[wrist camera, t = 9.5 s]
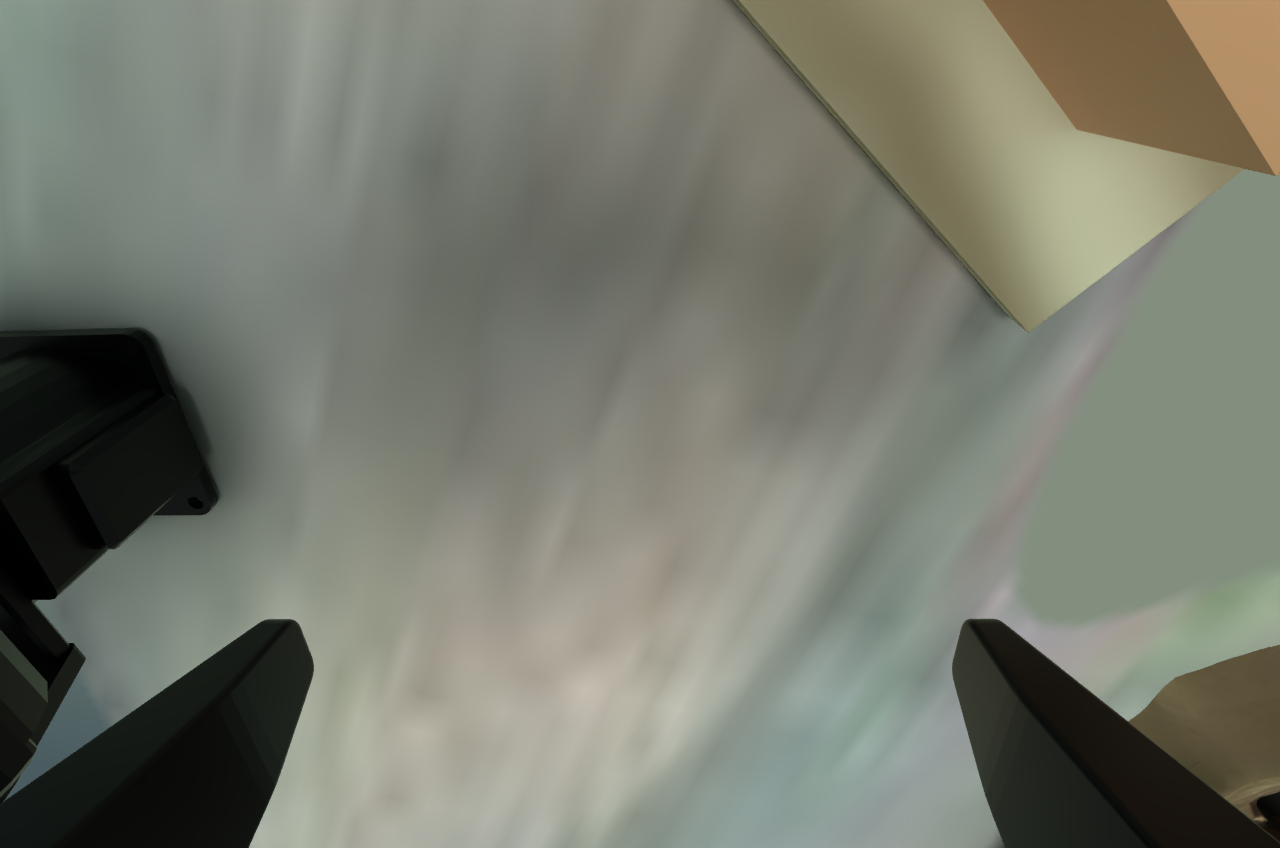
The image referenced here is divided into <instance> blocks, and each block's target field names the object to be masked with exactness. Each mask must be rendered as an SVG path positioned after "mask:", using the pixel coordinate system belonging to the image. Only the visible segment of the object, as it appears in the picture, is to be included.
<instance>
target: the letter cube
mask: <svg viewBox="0 0 1280 848" xmlns="http://www.w3.org/2000/svg"><path fill="white" fill-rule="evenodd" d="M983 1H984V3H985V4H986V5H987V7H988V8H989V10H990V11H991V12H992V14H993V15H994V16H995V18H996V19H997V21H998V22H999V23H1000V25H1001V26H1002V27H1003V29H1004V30H1005V32H1006V33H1007V34H1008V36H1009V37H1010V38H1011V40H1012V41H1013V43H1014V44H1015V45H1016V47H1017V48H1018V50H1019V51H1020V52H1021V54H1022V55H1023V56H1024V58H1025V59H1026V61H1027V62H1028V63H1029V65H1030V66H1031V67H1032V69H1033V70H1034V72H1035V73H1036V74H1037V76H1038V77H1039V78H1040V80H1041V81H1042V83H1043V84H1044V85H1045V87H1046V88H1047V90H1048V91H1049V92H1050V94H1051V95H1052V96H1053V98H1054V99H1055V101H1056V102H1057V103H1058V105H1059V106H1060V107H1061V109H1062V110H1063V112H1064V113H1065V114H1066V116H1067V117H1068V119H1069V120H1070V121H1071V123H1072V124H1073V125H1074V127H1075V128H1076V130H1080V131H1084V132H1088V133H1093V134H1097V135H1101V136H1106V137H1110V138H1114V139H1119V140H1123V141H1127V142H1132V143H1136V144H1140V145H1145V146H1149V147H1153V148H1157V149H1162V150H1166V151H1170V152H1175V153H1179V154H1183V155H1188V156H1192V157H1196V158H1201V159H1205V160H1209V161H1213V162H1218V163H1222V164H1226V165H1231V166H1235V167H1239V168H1244V169H1248V170H1252V171H1257V172H1261V173H1265V174H1270V175H1274V176H1277V175H1278V174H1279V173H1280V0H983Z"/></svg>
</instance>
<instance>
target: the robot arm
mask: <svg viewBox="0 0 1280 848" xmlns="http://www.w3.org/2000/svg"><path fill="white" fill-rule="evenodd" d="M130 343H131V344H133V345H134V346H135V347H136V348H137V350H138V352H137V351H135V350H134V349H132V347H131V346H130ZM196 497H197V498H199V499H200V500H201V501H200V500H198V499H197V498H196ZM217 501H218V499H217V495H216V492H215V490H214V488H213V485H212V483H211V480H210V478H209V475H208V473H207V471H206V468H205V466H204V463H203V461H202V459H201V456H200V454H199V451H198V449H197V447H196V444H195V442H194V439H193V437H192V434H191V432H190V430H189V427H188V425H187V422H186V420H185V418H184V415H183V413H182V410H181V408H180V405H179V403H178V401H177V398H176V396H175V393H174V391H173V389H172V386H171V384H170V381H169V379H168V376H167V374H166V372H165V369H164V367H163V364H162V362H161V360H160V357H159V355H158V352H157V350H156V347H155V345H154V343H153V342H152V340H151V338H150V337H148V336H147V335H146V334H145V333H143V332H141V331H139V330H135V329H110V330H69V331H27V332H0V848H249V846H250V843H251V841H252V839H253V837H254V834H255V832H256V830H257V828H258V826H259V823H260V821H261V819H262V817H263V814H264V812H265V810H266V808H267V805H268V803H269V801H270V798H271V796H272V794H273V791H274V789H275V787H276V784H277V781H278V778H279V776H280V773H281V770H282V768H283V765H284V762H285V759H286V756H287V753H288V750H289V747H290V744H291V741H292V738H293V735H294V732H295V729H296V726H297V723H298V720H299V717H300V714H301V711H302V708H303V705H304V702H305V699H306V696H307V693H308V690H309V687H310V684H311V681H312V677H313V672H314V664H313V659H312V656H311V653H310V651H309V648H308V646H307V643H306V640H305V638H304V635H303V633H302V630H301V627H300V625H299V624H298V623H297V622H296V621H295V620H292V619H268V620H264V621H262V622H260V623H259V624H257V625H256V626H254V627H253V628H251V629H250V630H248V631H247V632H246V633H244V634H243V635H241V636H240V637H238V638H237V639H236V640H234V641H233V642H231V643H230V644H228V645H227V646H226V647H224V648H223V649H221V650H220V651H218V652H217V653H216V654H214V655H213V656H211V657H210V658H208V659H207V660H206V661H204V662H203V663H201V664H200V665H198V666H197V667H196V668H194V669H193V670H191V671H190V672H188V673H187V674H186V675H184V676H183V677H181V678H180V679H178V680H177V681H176V682H174V683H173V684H171V685H170V686H168V687H167V688H166V689H164V690H163V691H161V692H160V693H158V694H157V695H156V696H154V697H153V698H151V699H150V700H148V701H147V702H146V703H144V704H143V705H141V706H140V707H138V708H137V709H136V710H134V711H133V712H131V713H130V714H128V715H127V716H126V717H124V718H123V719H121V720H120V721H118V722H117V723H116V724H114V725H113V726H111V727H110V728H108V729H107V730H106V731H104V732H103V733H101V734H100V735H99V736H97V737H96V738H94V739H93V740H91V741H90V742H88V743H87V744H86V745H84V746H83V747H81V748H80V749H78V750H77V751H76V752H74V753H73V754H71V755H70V756H68V757H67V758H66V759H64V760H63V761H61V762H60V763H58V764H57V765H56V766H54V767H53V768H51V769H50V770H49V771H47V772H46V773H44V774H43V775H41V776H40V777H38V778H37V779H36V780H34V781H33V782H31V783H30V784H28V785H27V786H25V787H24V788H23V789H21V790H20V791H18V792H17V793H15V794H14V795H13V796H11V797H10V798H8V799H7V800H5V799H6V797H7V795H8V794H9V793H10V791H11V790H12V788H13V787H14V785H15V784H16V782H17V781H18V779H19V777H20V775H21V774H22V772H23V771H24V770H25V769H26V768H27V766H28V765H29V764H30V763H31V760H32V758H33V756H34V754H35V752H36V749H37V745H38V744H39V742H40V740H41V738H42V736H43V734H44V733H45V731H46V729H47V727H48V726H49V724H50V722H51V720H52V718H53V717H54V715H55V713H56V711H57V710H58V708H59V706H60V704H61V703H62V701H63V699H64V697H65V695H66V694H67V692H68V690H69V688H70V687H71V685H72V683H73V681H74V679H75V678H76V676H77V674H78V672H79V670H80V669H81V667H82V665H83V663H84V662H85V659H86V658H85V656H84V655H83V654H82V653H81V652H80V650H79V649H78V648H77V647H76V646H75V644H74V643H68V642H67V641H66V640H65V639H64V638H63V637H62V635H61V634H60V633H59V632H58V631H57V629H56V628H55V627H54V626H53V625H52V624H51V622H50V621H49V620H48V619H47V618H46V616H45V615H44V614H43V613H42V612H41V610H40V609H39V608H38V607H37V606H36V605H35V602H36V601H37V600H51V599H55V598H56V597H57V596H59V595H60V594H61V593H62V592H63V591H64V590H65V589H66V588H67V587H68V586H69V585H71V584H72V583H73V582H74V581H75V580H76V579H77V578H78V577H79V576H80V575H82V574H83V573H84V572H85V571H86V570H87V569H88V568H89V567H90V566H91V565H92V564H94V563H95V562H96V561H97V560H98V559H99V558H100V557H101V556H102V555H103V554H105V553H106V552H107V551H108V550H109V549H116V548H118V547H119V546H120V545H121V544H122V543H124V542H125V541H126V540H127V539H128V538H129V537H130V536H131V535H132V534H133V533H134V532H135V531H137V530H138V529H139V528H140V527H141V526H142V525H143V524H144V523H145V522H146V521H147V520H148V519H150V518H151V517H152V516H153V515H204V514H207V513H208V512H209V511H210V510H211V509H212V508H213V507H214V506H215V505H216V504H217ZM952 674H953V680H954V684H955V688H956V691H957V695H958V699H959V702H960V706H961V710H962V713H963V717H964V721H965V724H966V728H967V732H968V735H969V739H970V743H971V746H972V750H973V754H974V757H975V761H976V765H977V768H978V772H979V776H980V779H981V782H982V786H983V789H984V792H985V796H986V799H987V801H988V804H989V807H990V810H991V812H992V815H993V818H994V820H995V823H996V825H997V828H998V831H999V833H1000V836H1001V838H1002V841H1003V843H1004V846H1005V848H1280V842H1279V841H1278V840H1276V839H1275V838H1274V837H1273V836H1271V835H1270V834H1269V833H1268V832H1266V831H1265V830H1264V829H1263V828H1261V827H1260V826H1259V825H1258V824H1256V823H1255V822H1254V821H1253V820H1251V819H1250V818H1249V817H1248V816H1246V815H1245V814H1244V813H1242V812H1241V811H1240V810H1239V809H1237V808H1236V807H1235V806H1234V805H1232V804H1231V803H1230V802H1229V801H1227V800H1226V799H1225V798H1224V797H1222V796H1221V795H1220V794H1219V793H1217V792H1216V791H1215V790H1214V789H1212V788H1211V787H1210V786H1208V785H1207V784H1206V783H1205V782H1203V781H1202V780H1201V779H1200V778H1198V777H1197V776H1196V775H1195V774H1193V773H1192V772H1191V771H1190V770H1188V769H1187V768H1186V767H1185V766H1183V765H1182V764H1181V763H1180V762H1178V761H1177V760H1176V759H1174V758H1173V757H1172V756H1171V755H1169V754H1168V753H1167V752H1166V751H1164V750H1163V749H1162V748H1161V747H1159V746H1158V745H1157V744H1156V743H1154V742H1153V741H1152V740H1151V739H1149V738H1148V737H1147V736H1146V735H1144V734H1143V733H1142V732H1140V731H1139V730H1138V729H1137V728H1135V727H1134V726H1133V725H1132V724H1130V723H1129V722H1128V721H1127V720H1125V719H1124V718H1123V717H1122V716H1120V715H1119V714H1118V713H1117V712H1115V711H1114V710H1113V709H1112V708H1110V707H1109V706H1108V705H1106V704H1105V703H1104V702H1103V701H1101V700H1100V699H1099V698H1098V697H1096V696H1095V695H1094V694H1093V693H1091V692H1090V691H1089V690H1088V689H1086V688H1085V687H1084V686H1083V685H1081V684H1080V683H1079V682H1078V681H1076V680H1075V679H1074V678H1072V677H1071V676H1070V675H1069V674H1067V673H1066V672H1065V671H1064V670H1062V669H1061V668H1060V667H1059V666H1057V665H1056V664H1055V663H1054V662H1052V661H1051V660H1050V659H1049V658H1047V657H1046V656H1045V655H1044V654H1042V653H1041V652H1040V651H1038V650H1037V649H1036V648H1035V647H1033V646H1032V645H1031V644H1030V643H1028V642H1027V641H1026V640H1025V639H1023V638H1022V637H1021V636H1020V635H1018V634H1017V633H1016V632H1015V631H1013V630H1012V629H1011V628H1010V627H1008V626H1007V625H1006V624H1004V623H1003V622H1001V621H999V620H997V619H968V620H966V621H965V622H964V623H963V625H962V627H961V631H960V635H959V639H958V643H957V647H956V651H955V655H954V659H953V664H952ZM4 800H5V801H4ZM3 801H4V802H3ZM2 802H3V803H2Z"/></svg>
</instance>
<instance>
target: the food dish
mask: <svg viewBox="0 0 1280 848" xmlns="http://www.w3.org/2000/svg"><path fill="white" fill-rule="evenodd" d="M1128 722H1129V723H1130V724H1132V725H1133V726H1134V727H1135V728H1137V729H1138V730H1139V731H1140V732H1142V733H1143V734H1144V735H1146V736H1147V737H1148V738H1149V739H1151V740H1152V741H1153V742H1154V743H1156V744H1157V745H1158V746H1159V747H1161V748H1162V749H1163V750H1164V751H1166V752H1167V753H1168V754H1169V755H1171V756H1172V757H1173V758H1174V759H1176V760H1177V761H1178V762H1180V763H1181V764H1182V765H1183V766H1185V767H1186V768H1187V769H1188V770H1190V771H1191V772H1192V773H1193V774H1195V775H1196V776H1197V777H1198V778H1200V779H1201V780H1202V781H1203V782H1205V783H1206V784H1207V785H1208V786H1210V787H1211V788H1212V789H1214V790H1215V791H1216V792H1217V793H1219V794H1220V795H1221V796H1222V797H1224V798H1225V799H1226V800H1227V801H1229V802H1230V803H1231V804H1232V805H1234V806H1235V807H1236V808H1237V809H1239V810H1240V811H1241V812H1242V813H1244V814H1245V815H1246V816H1248V817H1249V818H1250V819H1251V820H1253V821H1254V822H1255V823H1256V824H1258V825H1259V826H1260V827H1261V828H1263V829H1264V830H1265V831H1266V832H1268V833H1269V834H1270V835H1271V836H1273V837H1274V838H1275V839H1276V840H1278V841H1279V842H1280V645H1277V646H1273V647H1268V648H1265V649H1261V650H1257V651H1254V652H1251V653H1248V654H1245V655H1242V656H1238V657H1235V658H1231V659H1228V660H1225V661H1222V662H1219V663H1216V664H1214V665H1212V666H1209V667H1206V668H1203V669H1200V670H1197V671H1194V672H1191V673H1187V674H1185V675H1182V676H1179V677H1176V678H1174V679H1173V680H1172V681H1171V682H1169V683H1168V684H1167V685H1166V686H1165V687H1164V688H1163V689H1162V690H1161V691H1160V692H1159V693H1158V694H1157V695H1156V697H1155V698H1154V699H1153V700H1152V701H1151V702H1150V704H1149V705H1148V706H1147V707H1146V708H1145V709H1144V710H1143V711H1142V712H1141V713H1139V714H1138V715H1137V716H1135V717H1134V718H1133V719H1131V720H1130V721H1128Z"/></svg>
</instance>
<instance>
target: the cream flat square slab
mask: <svg viewBox="0 0 1280 848" xmlns="http://www.w3.org/2000/svg"><path fill="white" fill-rule="evenodd" d="M733 2H734V3H735V4H736V5H737V6H738V7H739V8H740V10H741V11H742V12H743V13H744V14H745V15H746V16H747V18H748V19H749V20H750V21H751V22H752V23H753V24H754V26H755V27H756V28H757V29H758V30H759V31H760V32H761V34H762V35H763V36H764V37H765V38H766V39H767V40H768V42H769V43H770V44H771V45H772V46H773V47H774V48H775V50H776V51H777V52H778V53H779V54H780V55H781V56H782V58H783V59H784V60H785V61H786V62H787V63H788V64H789V66H790V67H791V68H792V69H793V70H794V71H795V72H796V74H797V75H798V76H799V77H800V78H801V79H802V80H803V82H804V83H805V84H806V85H807V86H808V87H809V88H810V90H811V91H812V92H813V93H814V94H815V95H816V96H817V98H818V99H819V100H820V101H821V102H822V103H823V104H824V106H825V107H826V108H827V109H828V110H829V111H830V113H831V114H832V115H833V116H834V117H835V118H836V119H837V121H838V122H839V123H840V124H841V125H842V126H843V127H844V129H845V130H846V131H847V132H848V133H849V134H850V135H851V137H852V138H853V139H854V140H855V141H856V142H857V143H858V145H859V146H860V147H861V148H862V149H863V150H864V151H865V153H866V154H867V155H868V156H869V157H870V158H871V159H872V161H873V162H874V163H875V164H876V165H877V166H878V167H879V169H880V170H881V171H882V172H883V173H884V174H885V175H886V177H887V178H888V179H889V180H890V181H891V182H892V183H893V185H894V186H895V187H896V188H897V189H898V190H899V191H900V193H901V194H902V195H903V196H904V197H905V198H906V199H907V201H908V202H909V203H910V204H911V205H912V206H913V207H914V209H915V210H916V211H917V212H918V213H919V214H920V215H921V217H922V218H923V219H924V220H925V221H926V222H927V223H928V225H929V226H930V227H931V228H932V229H933V230H934V231H935V233H936V234H937V235H938V236H939V237H940V238H941V239H942V241H943V242H944V243H945V244H946V245H947V246H948V247H949V249H950V250H951V251H952V252H953V253H954V254H955V255H956V257H957V258H958V259H959V260H960V261H961V262H962V263H963V265H964V266H965V267H966V268H967V269H968V270H969V271H970V273H971V274H972V275H973V276H974V277H975V278H976V279H977V281H978V282H979V283H980V284H981V285H982V286H983V288H984V289H985V290H986V291H987V292H988V293H989V294H990V296H991V297H992V298H993V299H994V300H995V301H996V302H997V304H998V305H999V306H1000V307H1001V308H1002V309H1003V310H1004V312H1005V313H1006V314H1007V315H1008V316H1009V317H1010V318H1011V319H1012V320H1014V321H1015V322H1016V323H1017V324H1018V325H1020V326H1021V327H1022V328H1023V329H1024V330H1026V331H1027V332H1028V333H1029V332H1030V331H1031V330H1033V329H1034V328H1035V327H1037V326H1038V325H1039V324H1041V323H1042V322H1043V321H1045V320H1046V319H1047V318H1049V317H1050V316H1051V315H1053V314H1054V313H1055V312H1057V311H1058V310H1059V309H1060V308H1062V307H1063V306H1064V305H1066V304H1067V303H1068V302H1070V301H1071V300H1072V299H1074V298H1075V297H1076V296H1078V295H1079V294H1080V293H1082V292H1083V291H1084V290H1086V289H1087V288H1088V287H1089V286H1091V285H1092V284H1093V283H1095V282H1096V281H1097V280H1099V279H1100V278H1101V277H1103V276H1104V275H1105V274H1107V273H1108V272H1109V271H1111V270H1112V269H1113V268H1114V267H1116V266H1117V265H1118V264H1120V263H1121V262H1122V261H1124V260H1125V259H1126V258H1128V257H1129V256H1130V255H1132V254H1133V253H1134V252H1136V251H1137V250H1138V249H1140V248H1141V247H1142V246H1143V245H1145V244H1146V243H1147V242H1149V241H1150V240H1151V239H1153V238H1154V237H1155V236H1157V235H1158V234H1159V233H1161V232H1162V231H1163V230H1165V229H1166V228H1167V227H1168V226H1170V225H1171V224H1172V223H1174V222H1175V221H1176V220H1178V219H1179V218H1180V217H1182V216H1183V215H1184V214H1186V213H1187V212H1188V211H1190V210H1191V209H1192V208H1194V207H1195V206H1196V205H1197V204H1199V203H1200V202H1201V201H1203V200H1204V199H1205V198H1207V197H1208V196H1209V195H1211V194H1212V193H1213V192H1215V191H1216V190H1217V189H1219V188H1220V187H1221V186H1223V185H1224V184H1225V183H1226V182H1228V181H1229V180H1230V179H1232V178H1233V177H1234V176H1236V175H1237V174H1238V173H1240V172H1241V171H1242V170H1244V168H1239V167H1235V166H1231V165H1226V164H1222V163H1218V162H1213V161H1209V160H1205V159H1201V158H1196V157H1192V156H1188V155H1183V154H1179V153H1175V152H1170V151H1166V150H1162V149H1157V148H1153V147H1149V146H1145V145H1140V144H1136V143H1132V142H1127V141H1123V140H1119V139H1114V138H1110V137H1106V136H1101V135H1097V134H1093V133H1088V132H1084V131H1080V130H1076V128H1075V127H1074V125H1073V124H1072V123H1071V121H1070V120H1069V119H1068V117H1067V116H1066V114H1065V113H1064V112H1063V110H1062V109H1061V107H1060V106H1059V105H1058V103H1057V102H1056V101H1055V99H1054V98H1053V96H1052V95H1051V94H1050V92H1049V91H1048V90H1047V88H1046V87H1045V85H1044V84H1043V83H1042V81H1041V80H1040V78H1039V77H1038V76H1037V74H1036V73H1035V72H1034V70H1033V69H1032V67H1031V66H1030V65H1029V63H1028V62H1027V61H1026V59H1025V58H1024V56H1023V55H1022V54H1021V52H1020V51H1019V50H1018V48H1017V47H1016V45H1015V44H1014V43H1013V41H1012V40H1011V38H1010V37H1009V36H1008V34H1007V33H1006V32H1005V30H1004V29H1003V27H1002V26H1001V25H1000V23H999V22H998V21H997V19H996V18H995V16H994V15H993V14H992V12H991V11H990V10H989V8H988V7H987V5H986V4H985V3H984V1H983V0H733Z"/></svg>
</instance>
